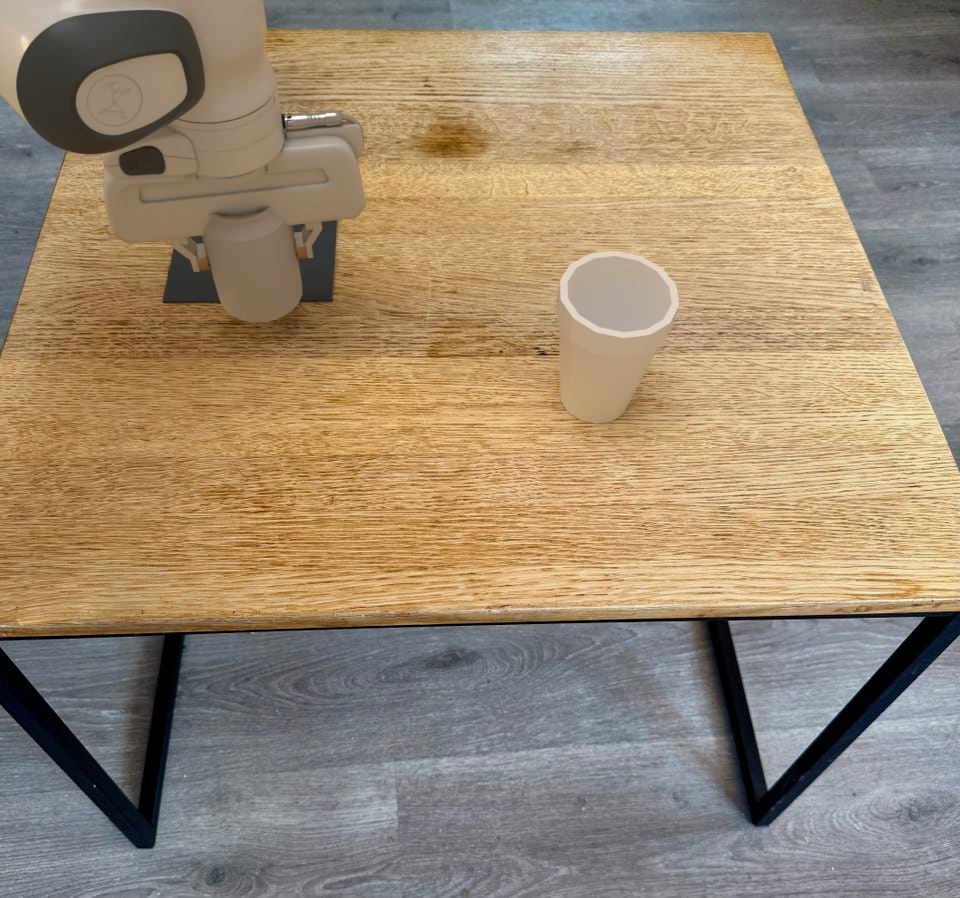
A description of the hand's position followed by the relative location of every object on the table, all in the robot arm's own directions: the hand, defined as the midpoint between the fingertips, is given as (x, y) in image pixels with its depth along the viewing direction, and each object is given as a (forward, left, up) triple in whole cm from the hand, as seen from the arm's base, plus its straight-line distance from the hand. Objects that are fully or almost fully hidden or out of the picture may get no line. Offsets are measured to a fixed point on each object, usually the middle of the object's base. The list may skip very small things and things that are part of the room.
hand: (253, 260), depth 76 cm
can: (0, 0, -5) cm, 5 cm away
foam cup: (+30, -10, -8) cm, 32 cm away
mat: (-2, +10, -8) cm, 13 cm away
